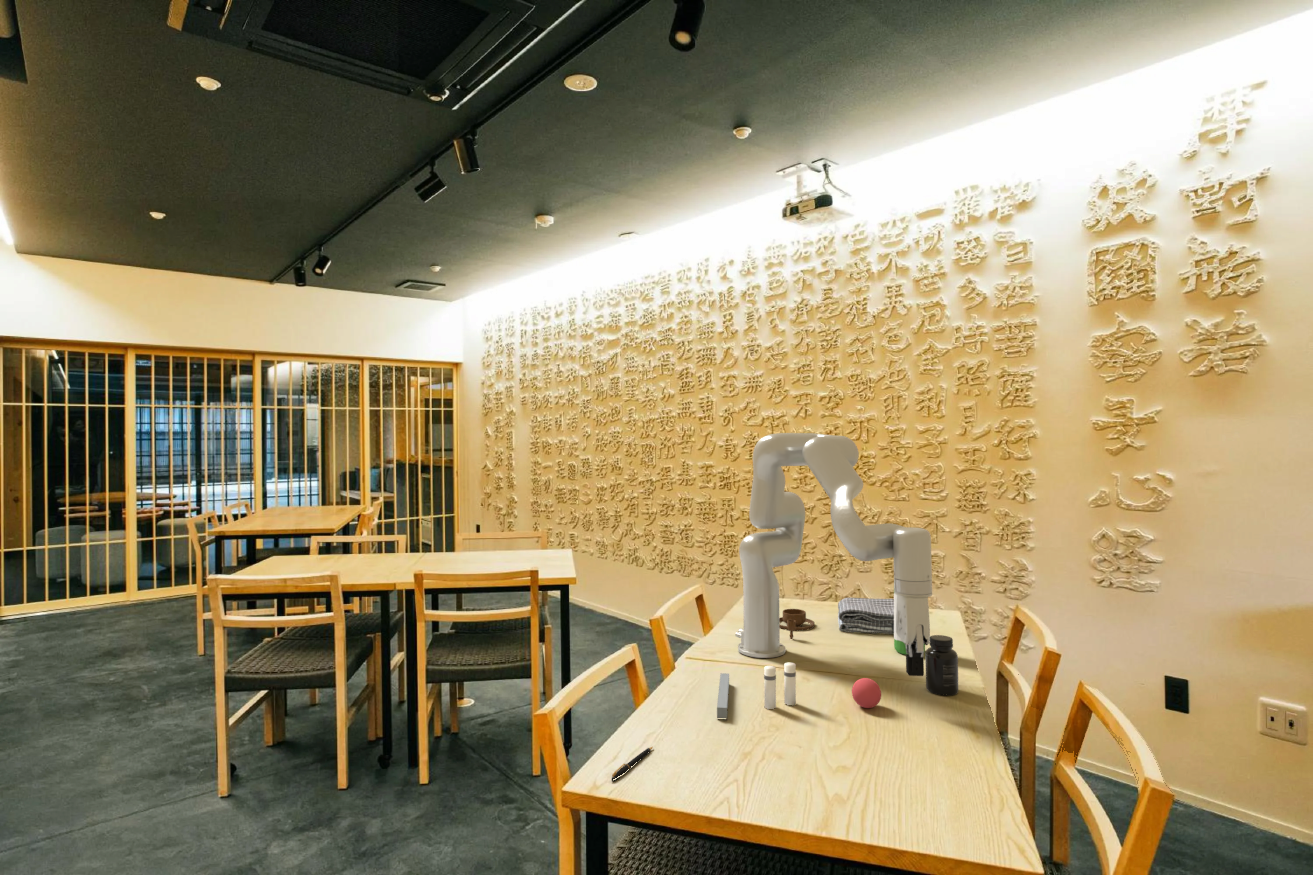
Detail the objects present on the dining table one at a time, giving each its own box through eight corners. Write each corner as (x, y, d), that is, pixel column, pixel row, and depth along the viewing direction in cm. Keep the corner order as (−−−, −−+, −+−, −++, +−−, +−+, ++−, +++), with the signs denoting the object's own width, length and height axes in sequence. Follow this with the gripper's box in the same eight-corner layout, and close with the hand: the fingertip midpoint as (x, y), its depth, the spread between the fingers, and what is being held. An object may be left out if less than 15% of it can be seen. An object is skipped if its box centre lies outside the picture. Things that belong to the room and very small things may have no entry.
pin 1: (761, 706, 146) (761, 667, 146) (769, 703, 148) (769, 664, 147) (770, 710, 144) (770, 670, 144) (778, 707, 146) (778, 667, 145)
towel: (837, 619, 215) (836, 594, 215) (898, 623, 211) (898, 597, 211) (838, 633, 200) (838, 606, 200) (904, 637, 196) (904, 610, 196)
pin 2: (781, 703, 148) (781, 663, 148) (789, 700, 149) (789, 661, 149) (790, 706, 146) (790, 666, 146) (798, 703, 147) (798, 664, 147)
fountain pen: (650, 748, 128) (650, 740, 128) (656, 750, 127) (656, 742, 127) (608, 783, 115) (608, 774, 115) (614, 785, 114) (614, 776, 114)
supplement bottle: (958, 687, 156) (958, 635, 156) (958, 698, 150) (957, 643, 150) (926, 683, 159) (926, 631, 159) (924, 693, 153) (924, 639, 153)
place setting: (830, 628, 206) (830, 609, 206) (794, 644, 192) (794, 623, 192) (781, 618, 218) (781, 599, 218) (743, 631, 204) (743, 612, 204)
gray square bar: (720, 683, 160) (720, 673, 160) (729, 684, 159) (729, 673, 159) (717, 719, 140) (716, 707, 140) (726, 719, 139) (726, 707, 139)
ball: (846, 705, 146) (845, 677, 146) (863, 699, 150) (863, 671, 150) (870, 715, 141) (870, 686, 141) (887, 707, 145) (887, 679, 145)
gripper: (887, 579, 152) (889, 662, 152) (902, 594, 137) (904, 686, 137) (922, 580, 151) (924, 663, 151) (941, 594, 136) (944, 687, 136)
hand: (915, 674), depth 144 cm, fingers closed
